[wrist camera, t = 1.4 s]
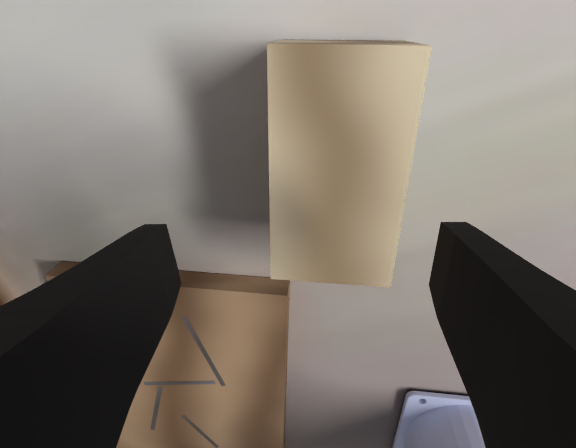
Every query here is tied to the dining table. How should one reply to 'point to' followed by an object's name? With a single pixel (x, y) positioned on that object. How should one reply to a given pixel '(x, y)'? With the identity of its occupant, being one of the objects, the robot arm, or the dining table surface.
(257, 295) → the board
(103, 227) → the dining table surface
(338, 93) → the block
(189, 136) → the dining table surface
